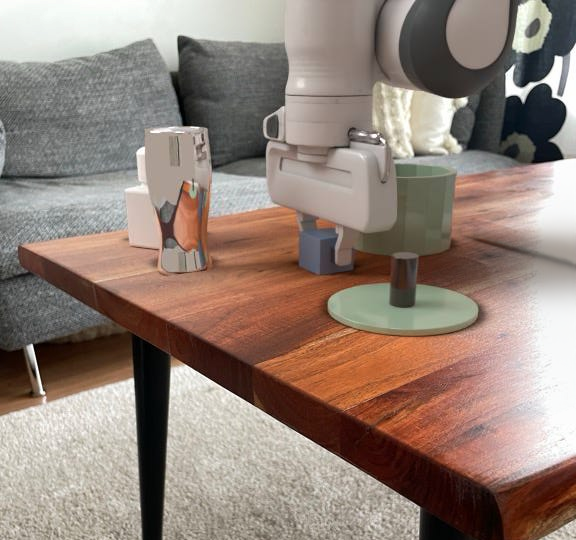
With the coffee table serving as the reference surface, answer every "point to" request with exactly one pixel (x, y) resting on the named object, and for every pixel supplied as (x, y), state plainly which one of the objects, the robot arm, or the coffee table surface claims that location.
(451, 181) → the tin
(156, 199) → the beer glass
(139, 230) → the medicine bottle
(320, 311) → the coffee table surface
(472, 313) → the lid
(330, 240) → the block
